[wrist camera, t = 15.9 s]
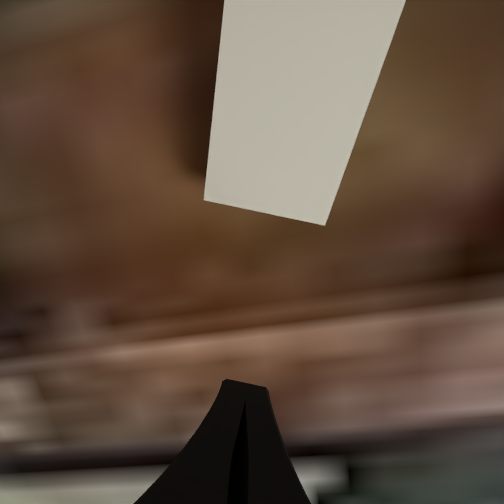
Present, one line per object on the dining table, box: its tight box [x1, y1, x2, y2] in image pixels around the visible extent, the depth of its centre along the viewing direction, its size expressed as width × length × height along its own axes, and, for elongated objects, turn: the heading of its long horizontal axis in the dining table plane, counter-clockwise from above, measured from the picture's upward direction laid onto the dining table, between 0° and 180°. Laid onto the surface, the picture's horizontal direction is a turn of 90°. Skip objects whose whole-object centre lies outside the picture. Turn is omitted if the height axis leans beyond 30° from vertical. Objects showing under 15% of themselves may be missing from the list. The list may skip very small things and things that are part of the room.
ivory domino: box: [204, 0, 406, 225], centre depth 14 cm, size 2×5×8 cm
